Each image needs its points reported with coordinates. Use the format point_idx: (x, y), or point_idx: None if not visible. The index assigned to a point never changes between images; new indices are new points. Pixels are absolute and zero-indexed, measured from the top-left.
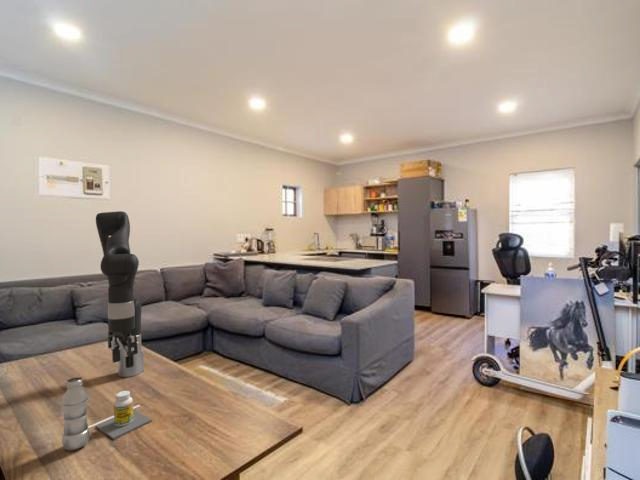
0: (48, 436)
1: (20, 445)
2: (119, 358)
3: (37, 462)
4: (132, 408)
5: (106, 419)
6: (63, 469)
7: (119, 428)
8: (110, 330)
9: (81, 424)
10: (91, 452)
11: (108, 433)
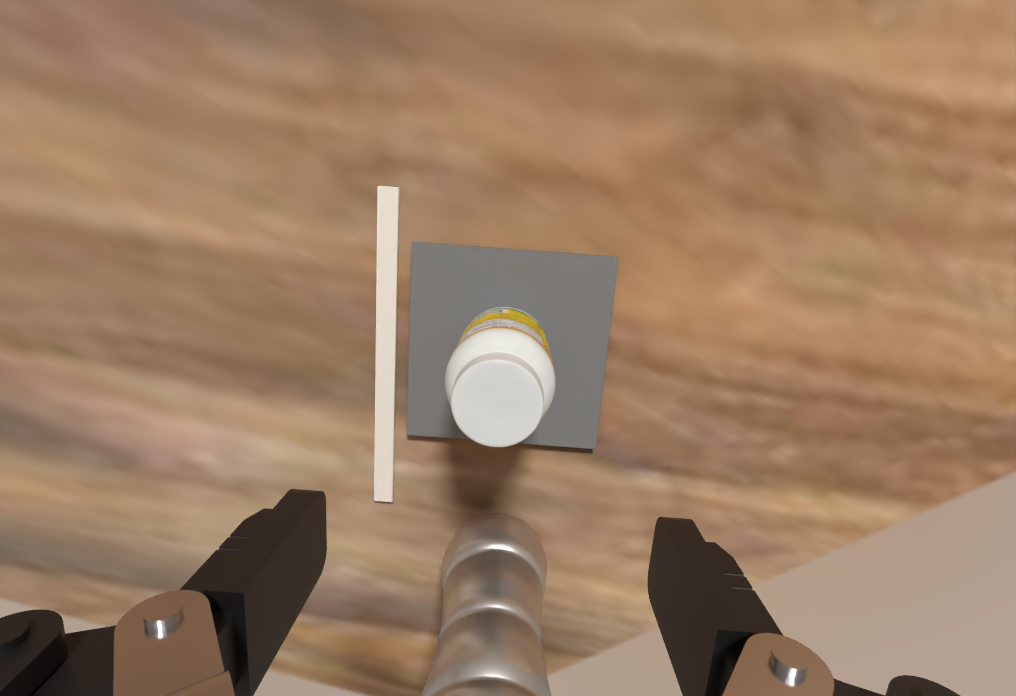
0: None
1: None
2: (311, 515)
3: None
4: (539, 335)
5: (385, 373)
6: (605, 625)
7: None
8: None
9: (540, 620)
10: (595, 532)
11: (535, 441)
